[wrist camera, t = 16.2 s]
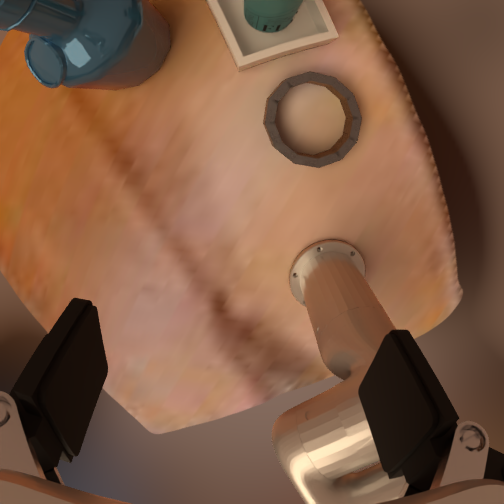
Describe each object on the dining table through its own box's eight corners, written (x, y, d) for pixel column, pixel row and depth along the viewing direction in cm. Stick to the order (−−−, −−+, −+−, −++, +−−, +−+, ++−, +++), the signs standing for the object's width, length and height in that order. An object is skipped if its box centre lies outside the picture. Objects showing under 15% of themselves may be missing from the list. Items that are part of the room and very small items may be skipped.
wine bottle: (126, -9, 30) (4, -99, 3) (193, 34, 34) (113, -76, 7) (69, 65, 34) (-95, 60, 7) (130, 110, 38) (-29, 137, 11)
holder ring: (363, 146, 42) (371, 149, 39) (283, 174, 43) (286, 179, 41) (335, 65, 37) (341, 62, 34) (250, 92, 38) (251, 91, 35)
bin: (328, 43, 35) (339, 36, 31) (238, 71, 37) (238, 66, 32) (292, -31, 30) (297, -45, 25) (203, -5, 31) (198, -18, 27)
